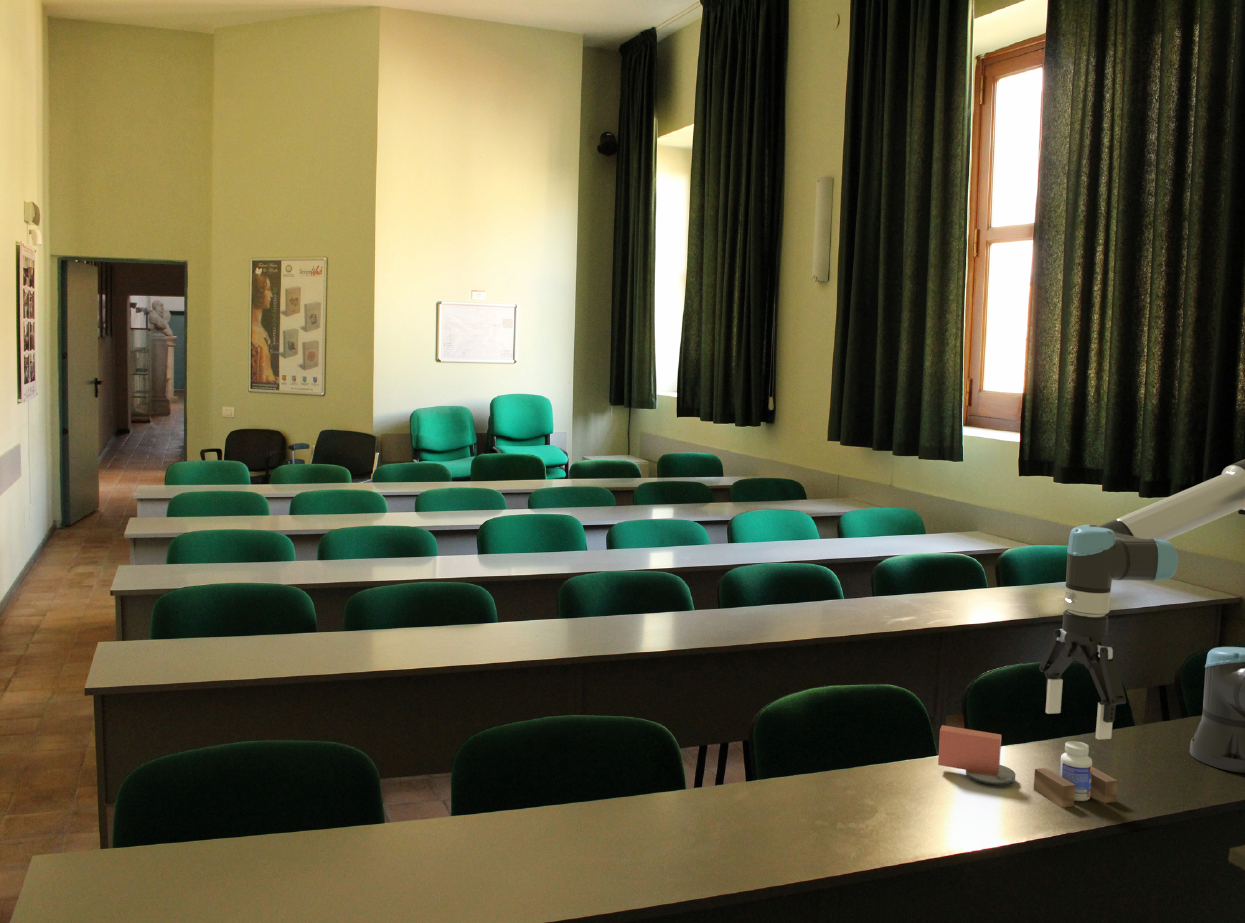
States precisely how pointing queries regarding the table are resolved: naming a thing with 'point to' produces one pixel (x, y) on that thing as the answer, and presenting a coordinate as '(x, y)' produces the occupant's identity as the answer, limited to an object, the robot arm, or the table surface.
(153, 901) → the table surface
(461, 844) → the table surface
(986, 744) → the block on round base
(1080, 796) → the pill bottle
